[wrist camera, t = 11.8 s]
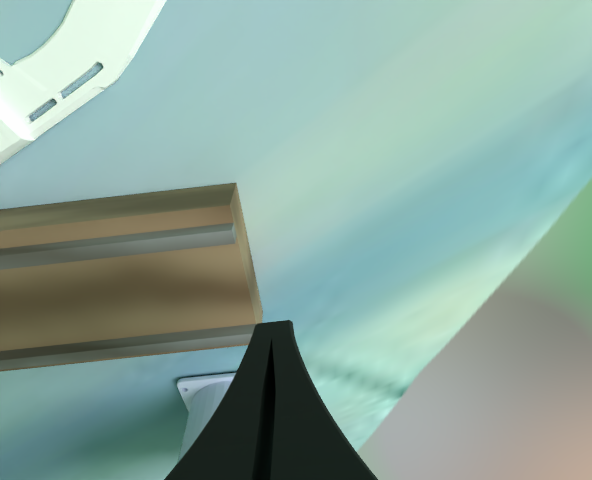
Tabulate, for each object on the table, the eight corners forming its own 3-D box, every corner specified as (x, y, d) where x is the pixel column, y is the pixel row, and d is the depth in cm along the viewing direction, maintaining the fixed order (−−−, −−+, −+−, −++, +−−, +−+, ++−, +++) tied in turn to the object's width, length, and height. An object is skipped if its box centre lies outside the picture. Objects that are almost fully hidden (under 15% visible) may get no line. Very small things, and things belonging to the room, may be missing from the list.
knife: (292, -452, 10) (392, -119, 13) (289, -387, 11) (380, -103, 15) (-286, 109, 15) (-108, 239, 19) (-239, 104, 17) (-82, 225, 20)
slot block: (262, 311, 25) (260, 353, 22) (-35, 343, 25) (-81, 389, 22) (236, 182, 20) (227, 212, 16) (-137, 225, 20) (-217, 262, 17)
